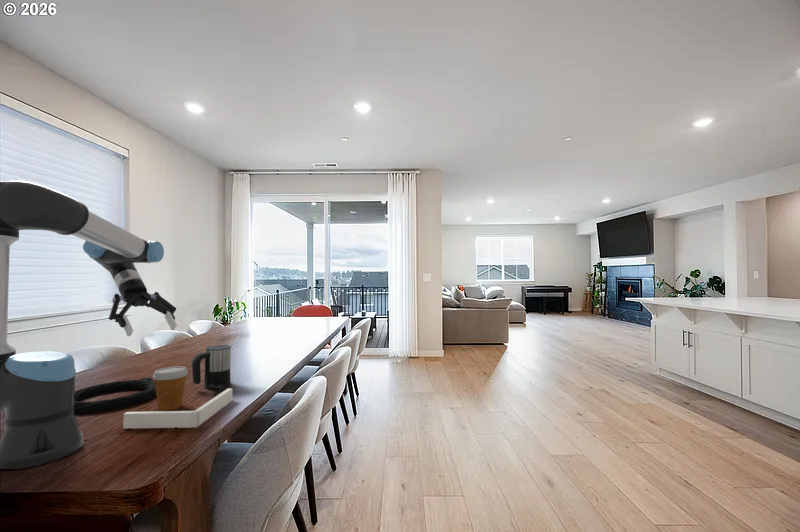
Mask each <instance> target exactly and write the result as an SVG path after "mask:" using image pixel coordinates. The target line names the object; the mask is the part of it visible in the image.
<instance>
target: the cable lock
mask: <svg viewBox="0 0 800 532" xmlns="http://www.w3.org/2000/svg"><path fill="white" fill-rule="evenodd" d="M128 389H138V390H141V389H144V390H141V391H140V392H135V393H132V394H129V395H124V396H121V397H115V398H111V399H101V400H94V401H92V400H91V401H81V400H83V399H86V398H85V397H87V398H90V397H94V396H97V395H101V394H100V393H103V394H106V393H105V392H108V393H112V392H111V391H113V392H117V391H116V390H122V391H129V390H128ZM89 396H90V397H89ZM155 396H157V394H156V387H155V380H154V378H153V377H151V376H147V377H141V378H139V379H130V380H129V379H128V380H118V381H117V380H116V381H112V382H106V383H105V382H104V383H98V384H95V385H92V386H86V387H84V388H80V389H79V390H75V396H74V413H77V414H80V413H87V414H93V413H102V412H101V411H104V412H109V411H108V410H110V411H113V409H114V410H118V409H117V408H120V409H123V408H122V407H125V408H129V407H131V406H135V405H137V403H138V404H141V403H140V402H142V403H144V402H146V401H148V400H150V398H151V399H153V398H155ZM80 399H81V400H80ZM77 400H79V401H77ZM143 401H144V402H143ZM134 404H135V405H134ZM128 406H129V407H128Z"/></svg>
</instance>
